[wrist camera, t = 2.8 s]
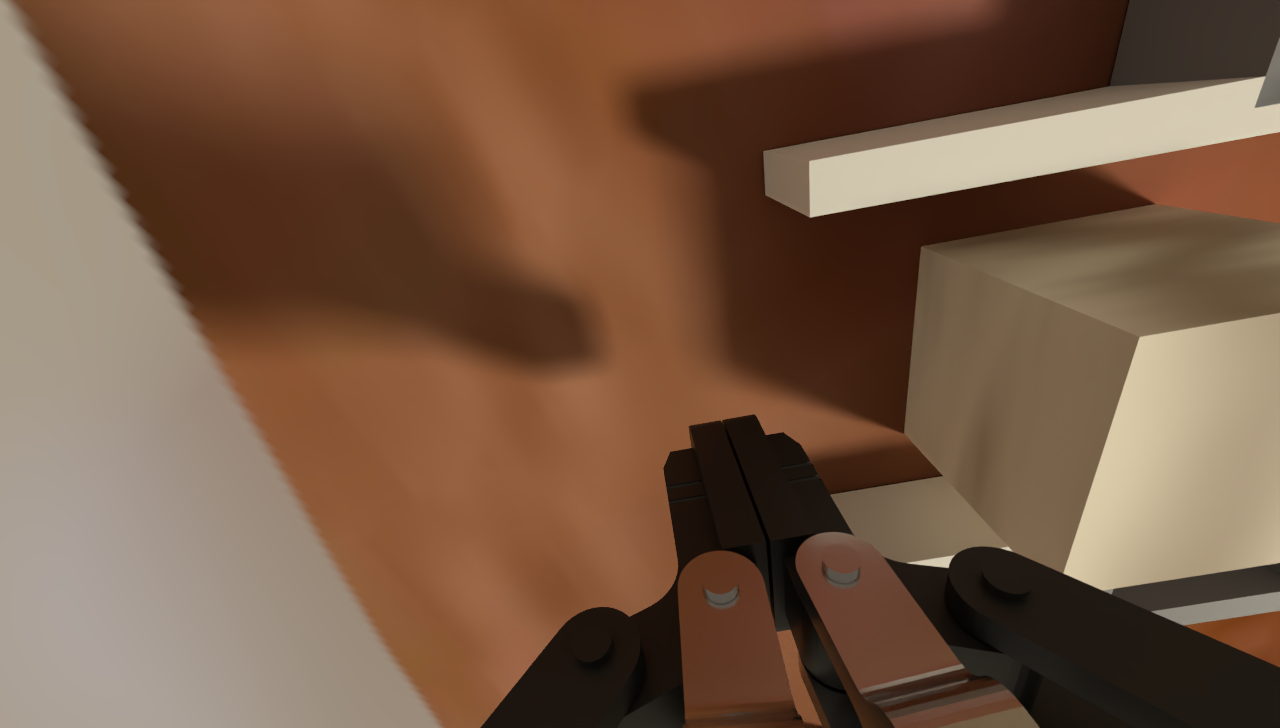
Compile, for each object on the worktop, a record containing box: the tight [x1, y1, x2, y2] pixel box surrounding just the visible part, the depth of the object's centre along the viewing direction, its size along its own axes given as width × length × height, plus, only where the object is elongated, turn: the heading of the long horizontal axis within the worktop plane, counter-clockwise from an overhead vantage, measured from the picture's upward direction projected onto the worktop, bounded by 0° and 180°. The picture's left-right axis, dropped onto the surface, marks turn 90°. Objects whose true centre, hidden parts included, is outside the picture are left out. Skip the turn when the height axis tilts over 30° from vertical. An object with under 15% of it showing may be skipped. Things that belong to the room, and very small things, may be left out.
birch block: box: [904, 204, 1280, 590], centre depth 11 cm, size 6×6×6 cm
